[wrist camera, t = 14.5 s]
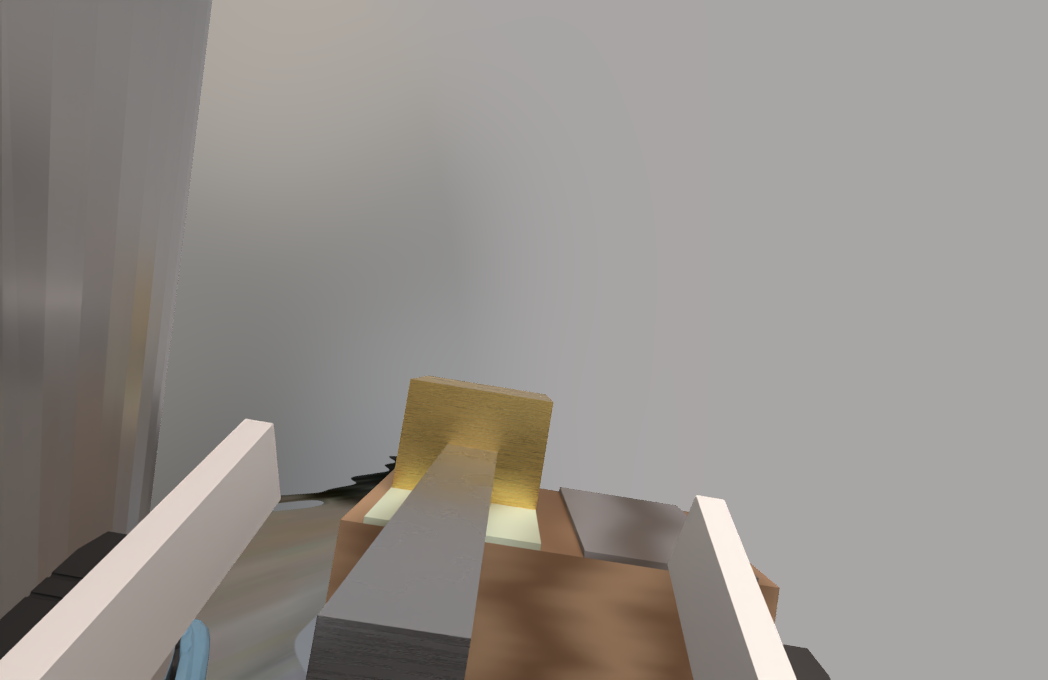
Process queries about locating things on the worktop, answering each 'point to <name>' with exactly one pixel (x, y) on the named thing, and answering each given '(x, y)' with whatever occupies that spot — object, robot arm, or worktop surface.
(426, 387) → the handle bar
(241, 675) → the worktop surface
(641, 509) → the wood grain box
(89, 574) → the robot arm
